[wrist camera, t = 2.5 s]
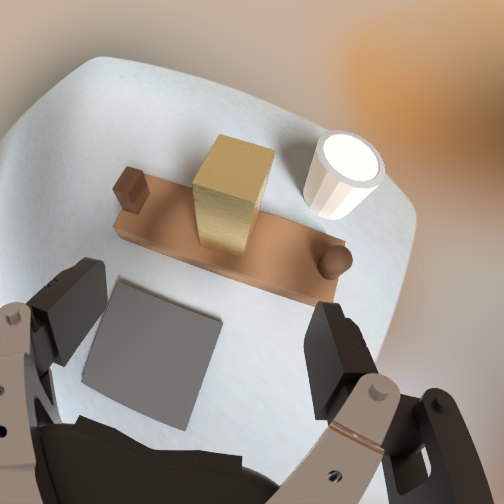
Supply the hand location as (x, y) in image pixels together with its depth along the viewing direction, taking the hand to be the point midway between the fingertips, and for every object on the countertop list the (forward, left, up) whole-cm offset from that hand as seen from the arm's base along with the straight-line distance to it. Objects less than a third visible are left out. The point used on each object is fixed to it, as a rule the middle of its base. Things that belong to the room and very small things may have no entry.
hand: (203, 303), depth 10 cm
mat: (-4, -4, -14) cm, 15 cm away
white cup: (+7, +17, -14) cm, 23 cm away
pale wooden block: (-1, +8, -12) cm, 14 cm away
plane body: (-1, +8, -14) cm, 16 cm away
